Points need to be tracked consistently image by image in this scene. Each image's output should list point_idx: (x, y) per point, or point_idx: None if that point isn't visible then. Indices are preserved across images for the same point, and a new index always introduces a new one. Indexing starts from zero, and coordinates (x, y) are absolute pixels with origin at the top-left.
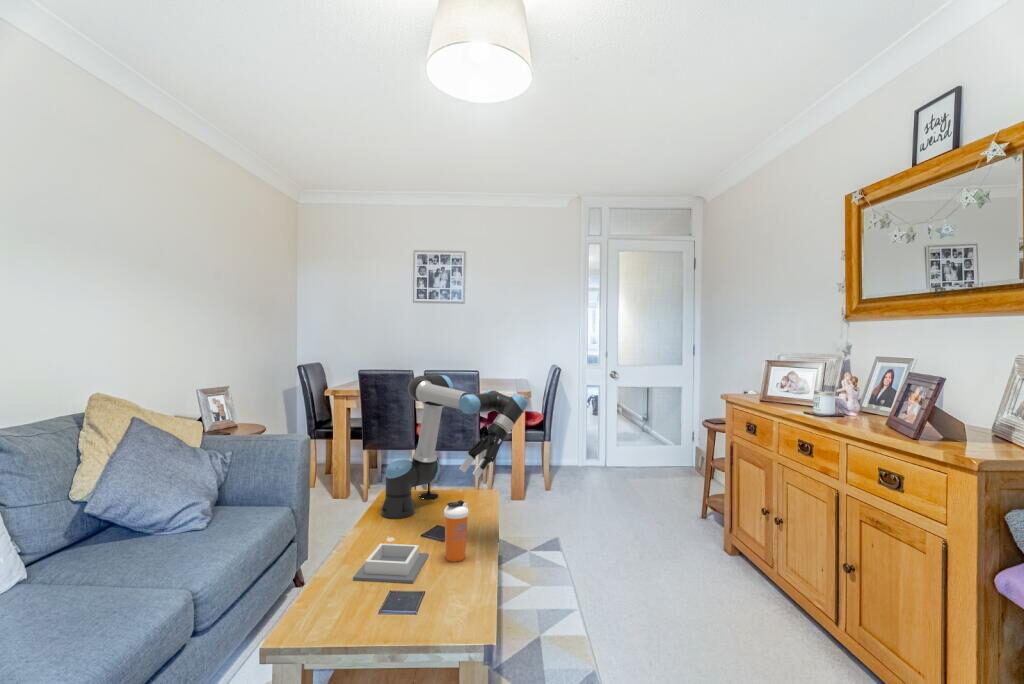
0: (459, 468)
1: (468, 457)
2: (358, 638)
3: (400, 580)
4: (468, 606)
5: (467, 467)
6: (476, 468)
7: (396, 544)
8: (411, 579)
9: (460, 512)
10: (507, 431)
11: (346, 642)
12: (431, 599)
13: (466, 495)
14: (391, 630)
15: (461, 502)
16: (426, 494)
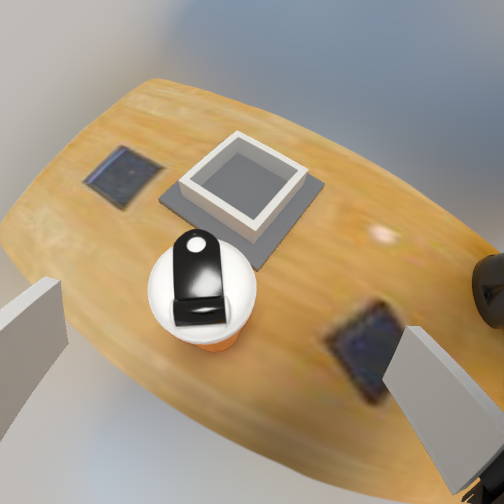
0: (417, 327)
1: (487, 421)
2: (97, 125)
3: (176, 183)
4: (44, 250)
5: (409, 407)
6: (15, 304)
7: (287, 191)
8: (163, 197)
9: (150, 279)
10: None
11: (101, 116)
12: (95, 210)
13: None
14: (80, 151)
15: (191, 300)
16: None
